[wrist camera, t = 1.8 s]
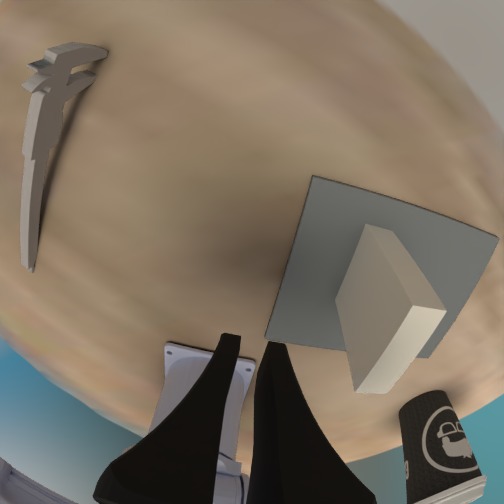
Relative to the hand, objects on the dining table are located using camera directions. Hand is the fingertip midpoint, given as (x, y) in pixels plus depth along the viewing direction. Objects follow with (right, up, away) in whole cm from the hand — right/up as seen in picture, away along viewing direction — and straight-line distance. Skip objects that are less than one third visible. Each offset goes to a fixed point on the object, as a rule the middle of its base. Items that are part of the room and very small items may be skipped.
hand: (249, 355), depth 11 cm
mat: (+10, +1, +9) cm, 14 cm away
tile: (+7, +3, +8) cm, 11 cm away
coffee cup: (+21, -15, +18) cm, 31 cm away
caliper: (-15, +10, +7) cm, 19 cm away
